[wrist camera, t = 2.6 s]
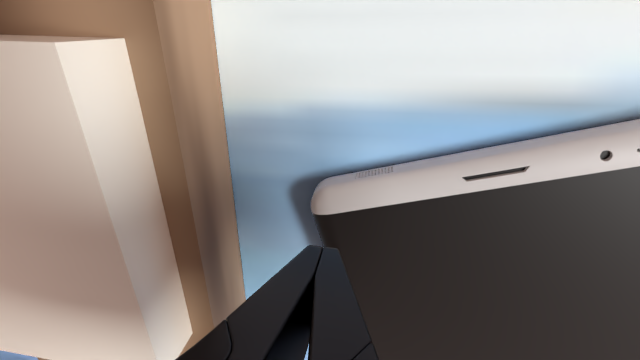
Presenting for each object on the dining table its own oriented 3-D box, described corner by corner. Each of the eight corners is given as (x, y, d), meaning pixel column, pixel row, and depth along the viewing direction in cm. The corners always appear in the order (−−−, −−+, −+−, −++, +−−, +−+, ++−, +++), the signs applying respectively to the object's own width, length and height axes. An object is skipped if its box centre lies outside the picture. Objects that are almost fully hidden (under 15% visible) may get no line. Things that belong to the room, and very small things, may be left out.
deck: (193, -147, 9) (111, -220, 6) (251, 345, 18) (228, 402, 15) (-102, -129, 10) (-272, -182, 8) (89, 318, 19) (42, 366, 16)
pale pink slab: (192, 333, 13) (163, 381, 11) (24, 304, 14) (-26, 345, 12) (124, 38, 8) (54, 42, 6) (-123, 31, 9) (-240, 33, 8)
